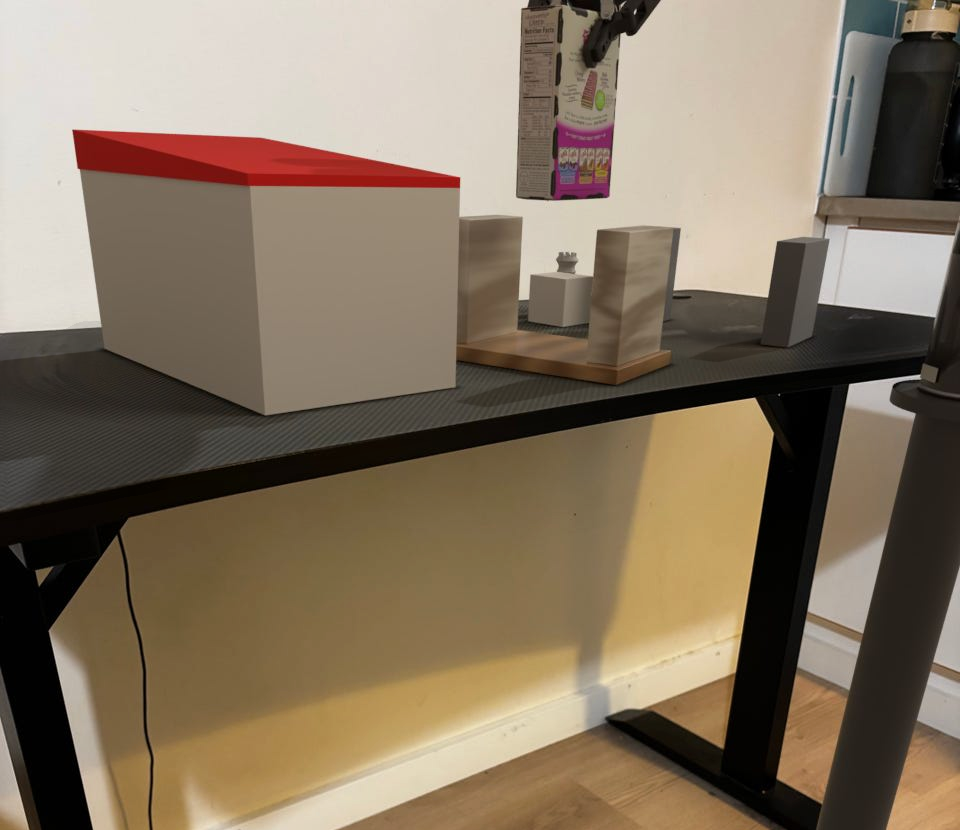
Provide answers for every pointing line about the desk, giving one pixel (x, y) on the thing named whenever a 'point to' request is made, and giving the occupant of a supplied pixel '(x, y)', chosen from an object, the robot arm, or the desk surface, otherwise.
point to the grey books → (780, 288)
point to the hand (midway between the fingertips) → (561, 60)
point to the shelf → (613, 316)
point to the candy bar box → (564, 107)
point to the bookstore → (272, 267)
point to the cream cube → (560, 298)
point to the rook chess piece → (567, 262)
